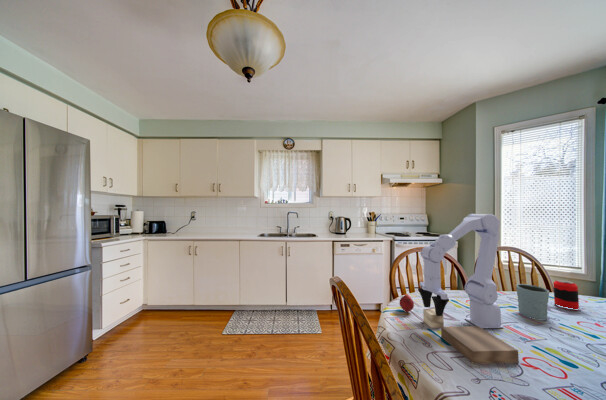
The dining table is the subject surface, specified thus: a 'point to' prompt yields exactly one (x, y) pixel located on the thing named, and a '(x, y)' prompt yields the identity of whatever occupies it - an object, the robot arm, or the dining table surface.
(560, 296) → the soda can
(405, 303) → the pomegranate
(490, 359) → the walnut block
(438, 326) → the beech cube
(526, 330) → the dining table surface
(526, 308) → the green plant pot
